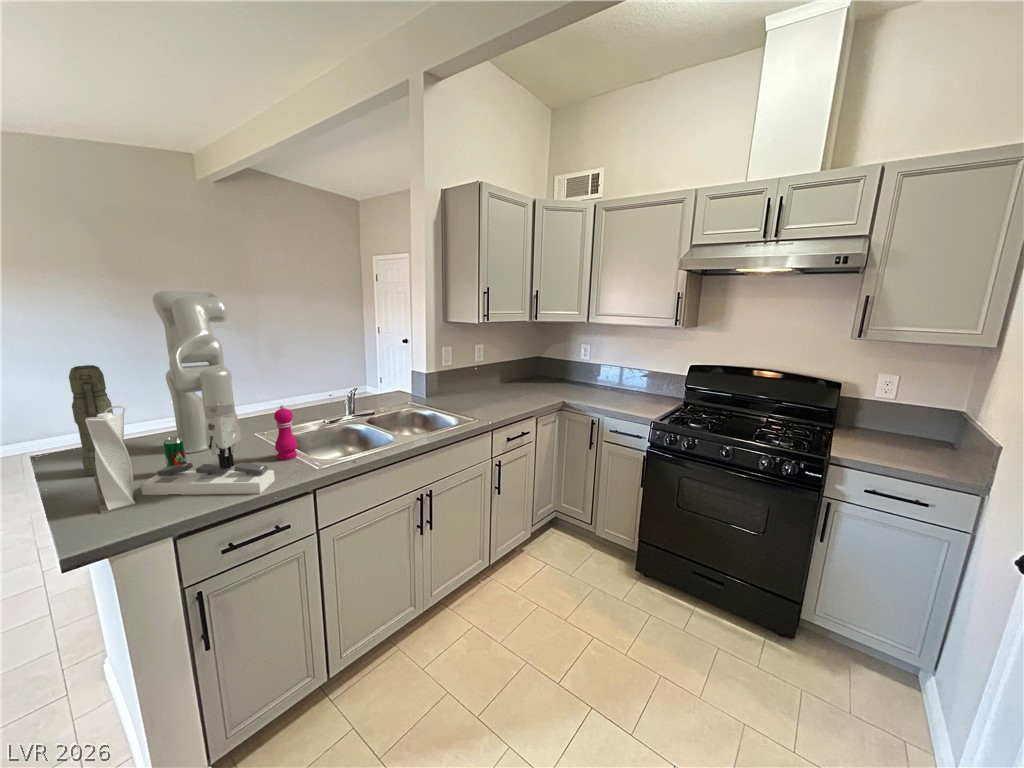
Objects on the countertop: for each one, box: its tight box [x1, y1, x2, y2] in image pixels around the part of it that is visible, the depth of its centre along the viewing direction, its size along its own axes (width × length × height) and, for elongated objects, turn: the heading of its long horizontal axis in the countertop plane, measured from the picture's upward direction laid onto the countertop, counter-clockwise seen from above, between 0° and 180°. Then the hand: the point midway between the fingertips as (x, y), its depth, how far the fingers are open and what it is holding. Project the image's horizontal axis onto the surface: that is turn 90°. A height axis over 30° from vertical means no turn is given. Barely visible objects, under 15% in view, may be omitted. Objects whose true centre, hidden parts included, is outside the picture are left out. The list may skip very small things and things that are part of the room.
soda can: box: [162, 435, 187, 467], centre depth 133 cm, size 5×5×12 cm
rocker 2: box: [233, 462, 269, 475], centre depth 127 cm, size 8×4×2 cm, turn 95°
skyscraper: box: [85, 405, 136, 515], centre depth 111 cm, size 8×8×28 cm
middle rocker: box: [195, 463, 232, 475], centre depth 126 cm, size 8×4×2 cm, turn 95°
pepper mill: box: [273, 404, 298, 461], centre depth 148 cm, size 7×7×20 cm
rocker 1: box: [156, 462, 194, 476], centre depth 125 cm, size 8×4×2 cm, turn 95°
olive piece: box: [68, 364, 114, 477], centre depth 130 cm, size 9×12×35 cm
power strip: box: [140, 469, 276, 496], centre depth 125 cm, size 33×9×4 cm, turn 95°
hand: (227, 466), depth 126 cm, fingers closed
